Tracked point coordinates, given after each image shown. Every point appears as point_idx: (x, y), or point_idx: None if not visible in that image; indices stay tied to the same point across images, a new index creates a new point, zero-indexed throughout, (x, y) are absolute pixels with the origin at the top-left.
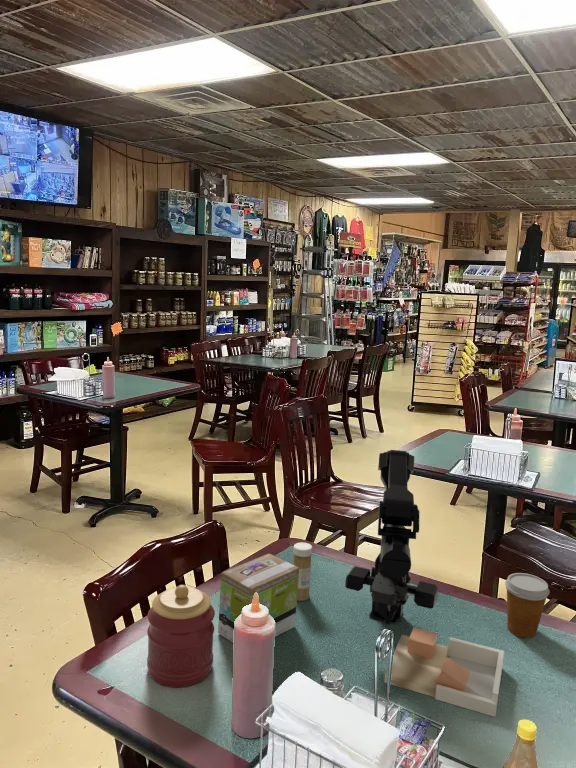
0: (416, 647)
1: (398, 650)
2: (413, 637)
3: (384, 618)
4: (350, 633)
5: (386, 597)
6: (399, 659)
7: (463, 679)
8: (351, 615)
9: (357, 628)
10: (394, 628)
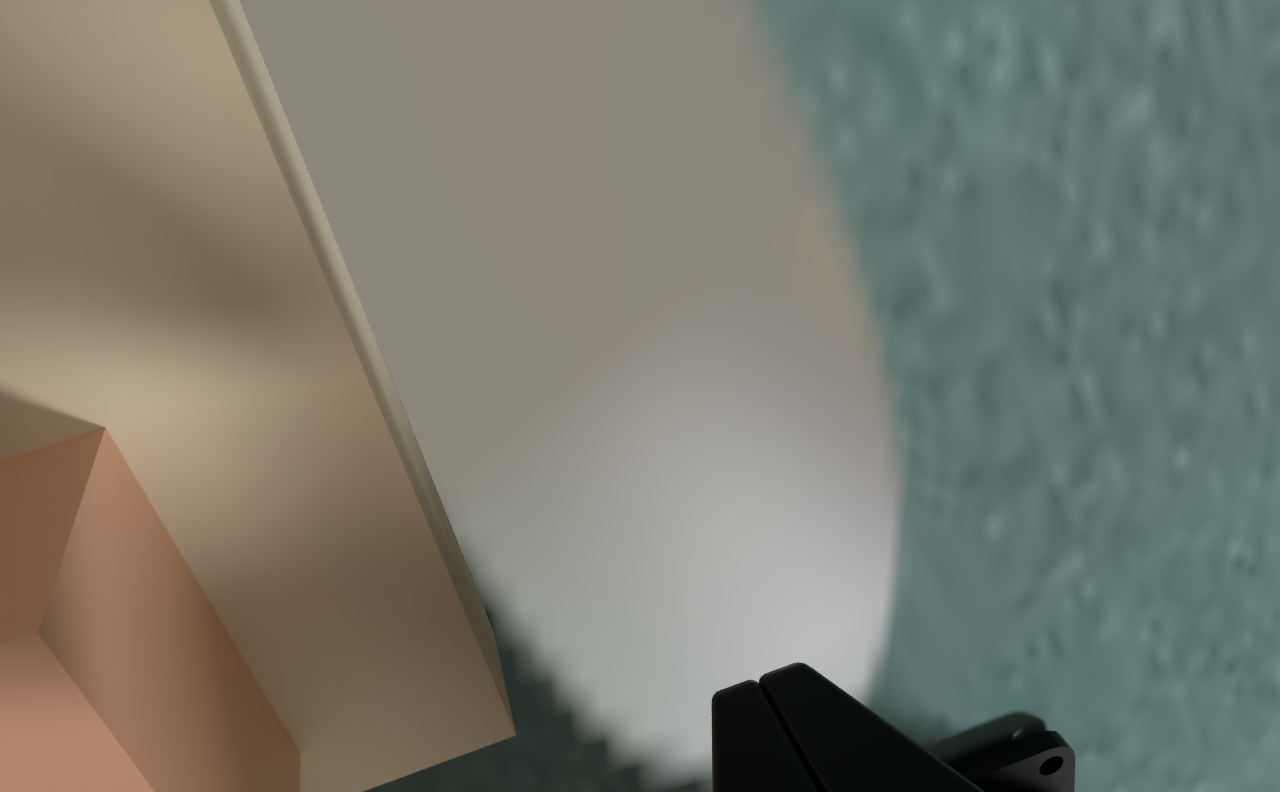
0: None
1: (283, 349)
2: (12, 761)
3: (905, 736)
4: (1167, 310)
5: None
6: (31, 72)
7: None
8: (1237, 609)
9: (1112, 466)
10: None
